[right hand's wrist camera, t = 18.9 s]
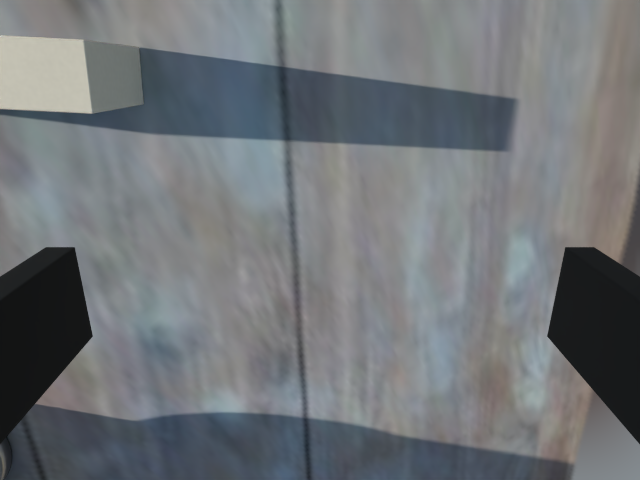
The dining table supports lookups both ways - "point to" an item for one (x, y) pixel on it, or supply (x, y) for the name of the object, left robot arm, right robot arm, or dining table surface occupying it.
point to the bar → (68, 75)
